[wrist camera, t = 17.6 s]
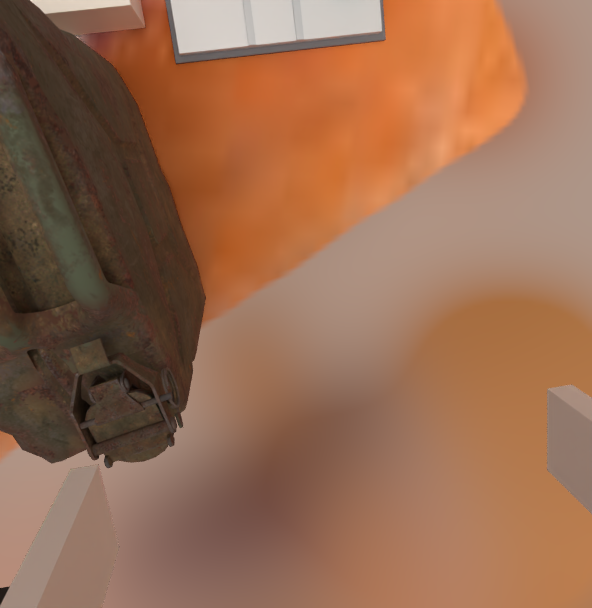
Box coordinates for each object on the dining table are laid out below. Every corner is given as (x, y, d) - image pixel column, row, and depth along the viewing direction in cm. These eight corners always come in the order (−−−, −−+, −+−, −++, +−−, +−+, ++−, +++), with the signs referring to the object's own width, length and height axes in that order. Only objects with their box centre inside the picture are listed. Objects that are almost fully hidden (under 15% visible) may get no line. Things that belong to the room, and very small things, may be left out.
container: (8, 94, 45) (-384, -18, 16) (124, 56, 45) (-60, -119, 17) (115, 337, 51) (-31, 566, 23) (217, 303, 52) (200, 485, 23)
